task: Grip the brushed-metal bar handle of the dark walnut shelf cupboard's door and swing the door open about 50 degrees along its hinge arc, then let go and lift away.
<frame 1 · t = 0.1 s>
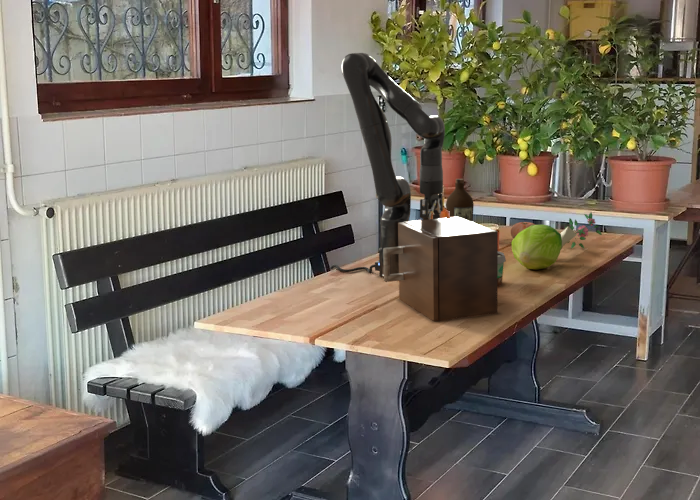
hand: (431, 227, 305), 17 cm above the table, tool pointing down, fingers open, 8 cm apart
olive oil: (459, 243, 364), on the table
cupboard: (449, 306, 276), on the table
lettuce: (535, 269, 318), on the table
door: (408, 270, 269), point 12 cm above the table, hinge at 0.0°
flower vase: (568, 252, 343), on the table
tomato: (524, 242, 363), on the table
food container: (495, 285, 299), on the table
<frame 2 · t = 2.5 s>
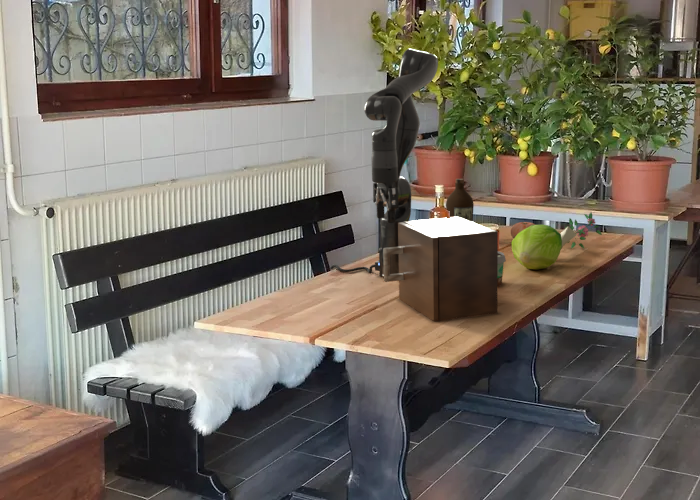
hand: (385, 220, 275), 25 cm above the table, tool pointing down, fingers open, 8 cm apart
nothing on the table moved.
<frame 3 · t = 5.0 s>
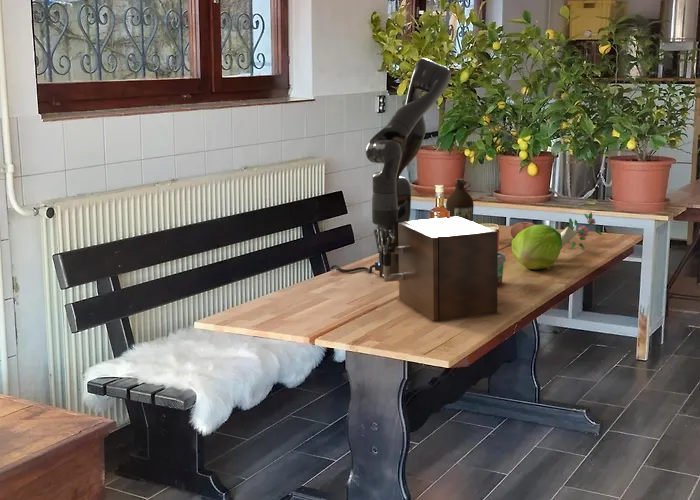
hand: (386, 264, 278), 12 cm above the table, tool pointing down, fingers closed on door, 2 cm apart
door: (408, 270, 269), point 12 cm above the table, hinge at 0.0°, touching gripper
everything else where it was.
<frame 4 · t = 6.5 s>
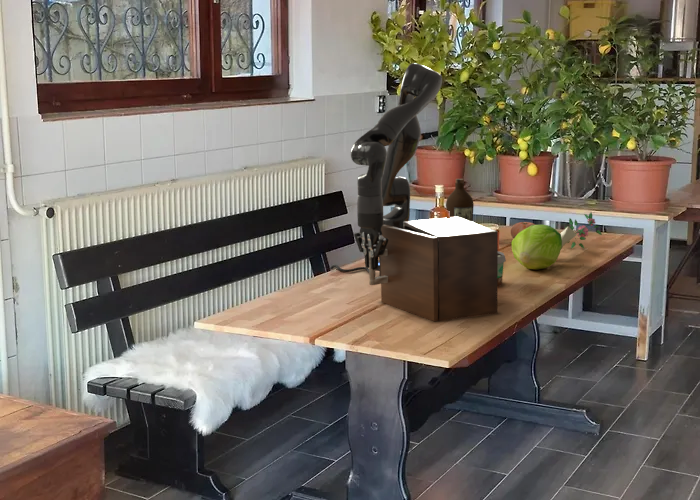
hand: (371, 267, 274), 12 cm above the table, tool pointing down, fingers closed on door, 2 cm apart
door: (399, 272, 267), point 12 cm above the table, hinge at 13.9°, touching gripper
everything else where it was.
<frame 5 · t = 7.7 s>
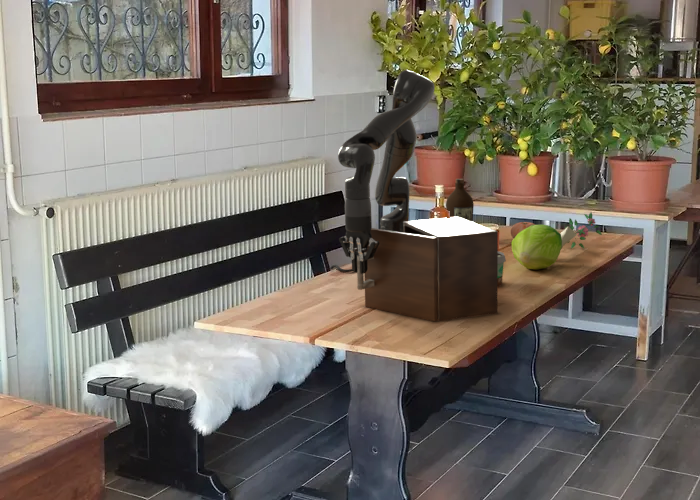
hand: (359, 272, 269), 12 cm above the table, tool pointing down, fingers closed on door, 2 cm apart
door: (393, 275, 265), point 12 cm above the table, hinge at 28.4°, touching gripper
everything else where it was.
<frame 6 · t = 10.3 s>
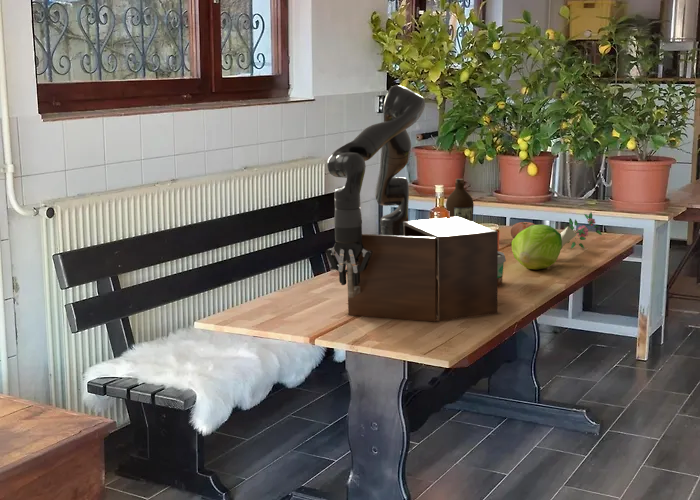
hand: (349, 284, 261), 11 cm above the table, tool pointing down, fingers open, 3 cm apart
door: (387, 279, 260), point 12 cm above the table, hinge at 50.2°
everything else where it was.
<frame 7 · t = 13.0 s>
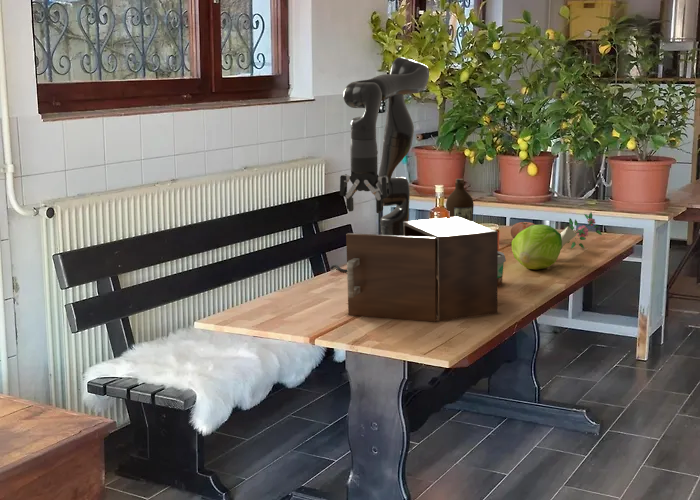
hand: (364, 211, 265), 30 cm above the table, tool pointing down, fingers open, 8 cm apart
nothing on the table moved.
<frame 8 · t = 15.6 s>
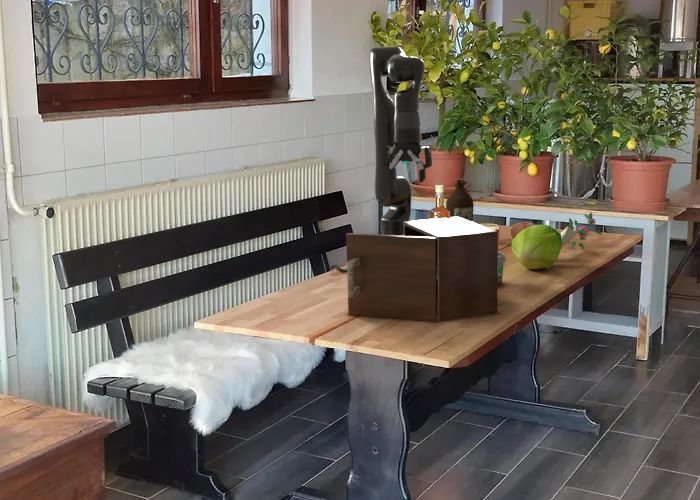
hand: (407, 181, 277), 36 cm above the table, tool pointing down, fingers open, 8 cm apart
nothing on the table moved.
at the end: door at +50° (first picture: +0°) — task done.
